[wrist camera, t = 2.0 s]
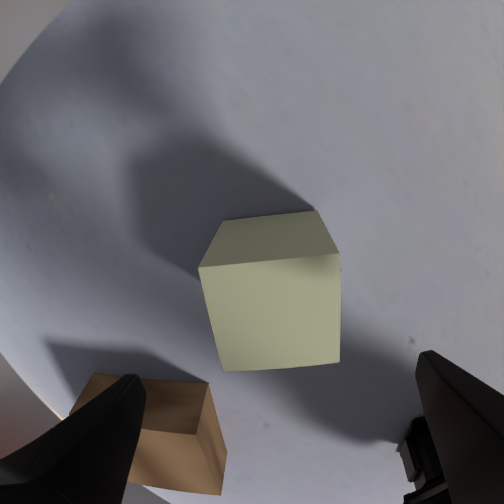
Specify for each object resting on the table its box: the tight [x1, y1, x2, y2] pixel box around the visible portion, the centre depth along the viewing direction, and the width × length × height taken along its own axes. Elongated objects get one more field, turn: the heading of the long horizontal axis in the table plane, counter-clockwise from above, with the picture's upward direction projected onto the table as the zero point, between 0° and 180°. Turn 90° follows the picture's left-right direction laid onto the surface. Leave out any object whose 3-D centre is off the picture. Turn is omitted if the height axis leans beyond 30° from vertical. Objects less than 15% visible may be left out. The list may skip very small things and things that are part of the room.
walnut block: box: [69, 373, 227, 495], centre depth 21 cm, size 10×10×5 cm
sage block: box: [198, 210, 340, 372], centre depth 15 cm, size 5×5×6 cm
